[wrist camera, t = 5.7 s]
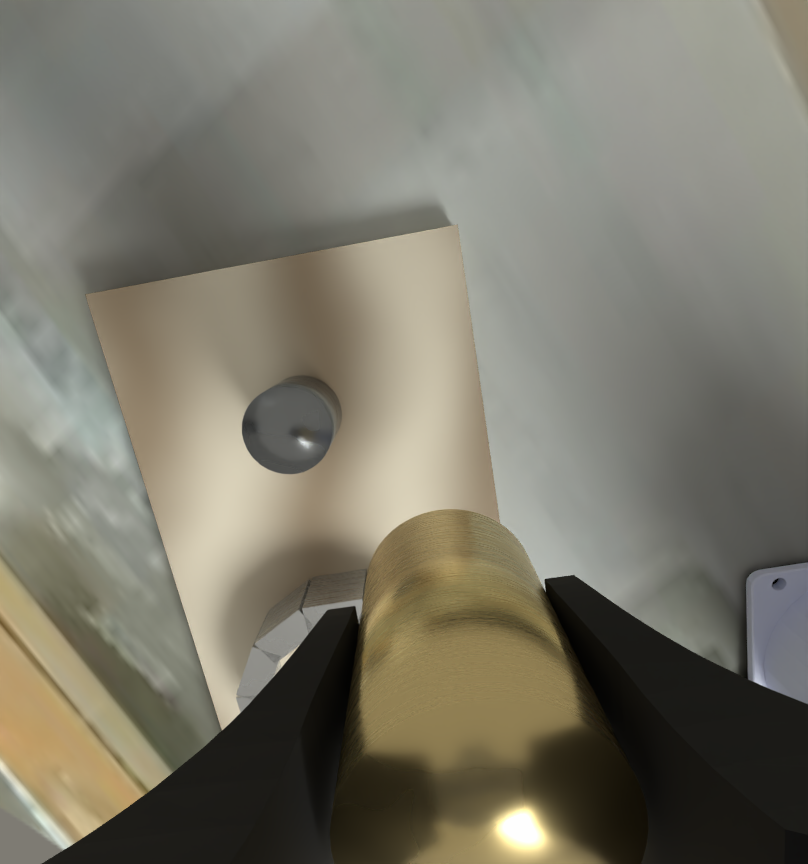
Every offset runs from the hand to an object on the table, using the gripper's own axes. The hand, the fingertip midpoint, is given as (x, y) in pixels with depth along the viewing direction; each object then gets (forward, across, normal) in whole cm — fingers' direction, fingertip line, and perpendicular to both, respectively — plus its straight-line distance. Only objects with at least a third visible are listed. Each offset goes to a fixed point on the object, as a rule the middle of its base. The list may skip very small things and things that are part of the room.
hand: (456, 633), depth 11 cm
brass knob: (+2, 0, 0) cm, 2 cm away
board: (+8, +4, +1) cm, 9 cm away
